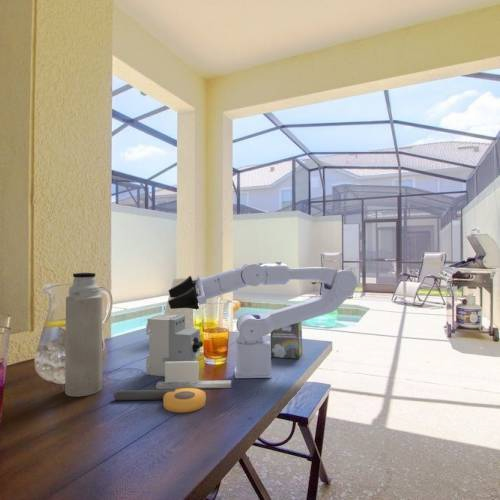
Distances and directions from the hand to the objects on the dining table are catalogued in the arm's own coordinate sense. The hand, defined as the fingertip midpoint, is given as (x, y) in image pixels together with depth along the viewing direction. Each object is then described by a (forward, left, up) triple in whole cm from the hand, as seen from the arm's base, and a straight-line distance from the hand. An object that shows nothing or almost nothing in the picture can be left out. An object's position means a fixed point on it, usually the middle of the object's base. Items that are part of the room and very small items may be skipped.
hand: (169, 299), depth 98 cm
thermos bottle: (+19, +8, -21) cm, 29 cm away
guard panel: (-4, +7, -19) cm, 21 cm away
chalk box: (-34, -21, -21) cm, 45 cm away
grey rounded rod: (+3, +15, -21) cm, 26 cm away
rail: (-7, +7, -21) cm, 23 cm away
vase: (+2, -49, -21) cm, 53 cm away
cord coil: (-6, +18, -21) cm, 28 cm away
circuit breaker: (-1, -5, -21) cm, 21 cm away
